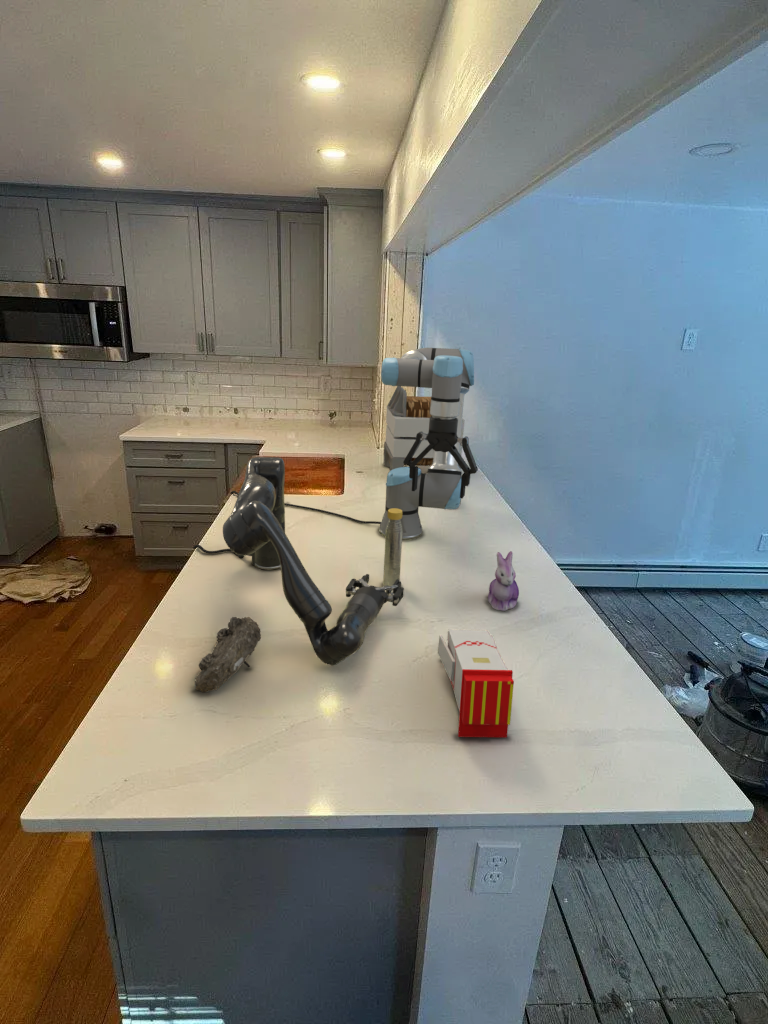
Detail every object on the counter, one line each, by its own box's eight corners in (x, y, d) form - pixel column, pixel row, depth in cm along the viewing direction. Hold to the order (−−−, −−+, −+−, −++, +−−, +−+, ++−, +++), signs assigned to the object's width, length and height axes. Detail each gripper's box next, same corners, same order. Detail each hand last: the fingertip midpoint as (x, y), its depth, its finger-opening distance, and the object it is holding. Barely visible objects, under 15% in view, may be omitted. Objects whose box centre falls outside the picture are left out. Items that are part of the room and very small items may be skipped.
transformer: (382, 463, 289) (386, 382, 275) (445, 464, 293) (451, 384, 279) (390, 482, 257) (394, 392, 243) (460, 483, 261) (468, 394, 247)
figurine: (500, 615, 149) (507, 563, 144) (477, 598, 157) (483, 548, 152) (528, 608, 153) (536, 557, 148) (504, 591, 161) (510, 543, 156)
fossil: (214, 619, 133) (260, 589, 128) (241, 647, 136) (288, 619, 131) (174, 686, 113) (226, 654, 108) (207, 716, 116) (260, 687, 111)
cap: (402, 520, 154) (402, 513, 153) (387, 519, 154) (387, 512, 153) (402, 515, 157) (402, 508, 157) (387, 514, 157) (387, 507, 157)
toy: (488, 613, 130) (523, 677, 101) (484, 667, 133) (517, 744, 104) (435, 612, 130) (455, 676, 101) (432, 666, 133) (451, 743, 103)
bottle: (399, 589, 160) (403, 515, 153) (382, 588, 160) (386, 514, 153) (399, 582, 165) (403, 509, 157) (383, 581, 165) (386, 508, 157)
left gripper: (392, 599, 135) (409, 571, 149) (336, 589, 138) (358, 562, 153) (390, 626, 137) (407, 596, 152) (335, 616, 141) (357, 587, 156)
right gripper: (493, 419, 149) (485, 496, 156) (403, 409, 156) (399, 483, 164) (488, 424, 142) (480, 504, 149) (394, 414, 150) (390, 490, 157)
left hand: (382, 579), depth 152 cm, fingers open, 8 cm apart
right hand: (437, 493), depth 156 cm, fingers open, 13 cm apart
